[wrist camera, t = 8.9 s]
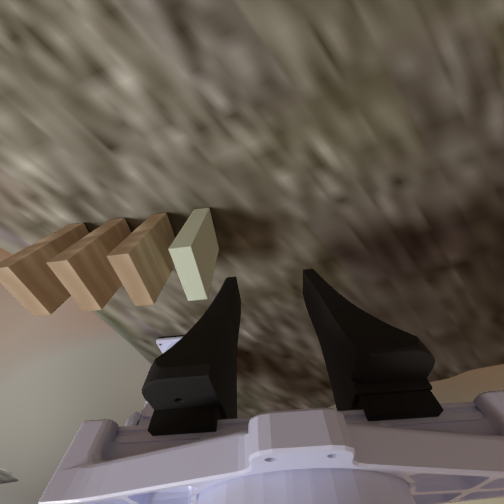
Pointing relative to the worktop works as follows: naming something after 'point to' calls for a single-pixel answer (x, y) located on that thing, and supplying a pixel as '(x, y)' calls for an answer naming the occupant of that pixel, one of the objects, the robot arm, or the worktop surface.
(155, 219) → the domino
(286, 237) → the worktop surface
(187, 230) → the domino
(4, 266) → the domino
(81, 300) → the domino
